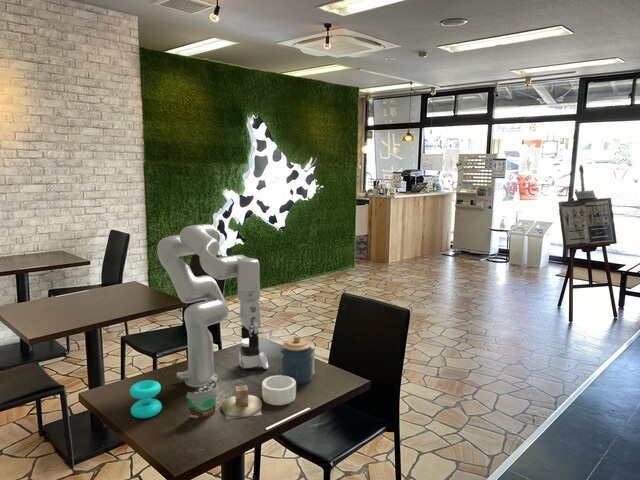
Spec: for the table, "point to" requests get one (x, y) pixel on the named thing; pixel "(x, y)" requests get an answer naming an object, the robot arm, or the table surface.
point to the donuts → (145, 399)
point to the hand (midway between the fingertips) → (249, 342)
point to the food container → (203, 401)
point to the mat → (240, 417)
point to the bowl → (278, 390)
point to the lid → (241, 403)
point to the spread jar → (251, 356)
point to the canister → (297, 360)
